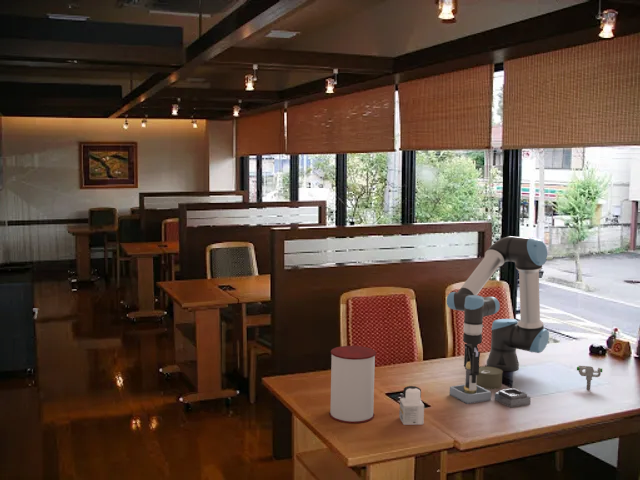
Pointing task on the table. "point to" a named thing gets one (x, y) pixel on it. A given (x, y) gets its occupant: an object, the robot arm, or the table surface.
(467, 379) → the strut
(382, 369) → the table surface
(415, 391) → the container
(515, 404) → the recessed square block
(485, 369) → the can
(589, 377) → the mechanical component
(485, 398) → the tray
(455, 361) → the table surface
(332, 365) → the container
